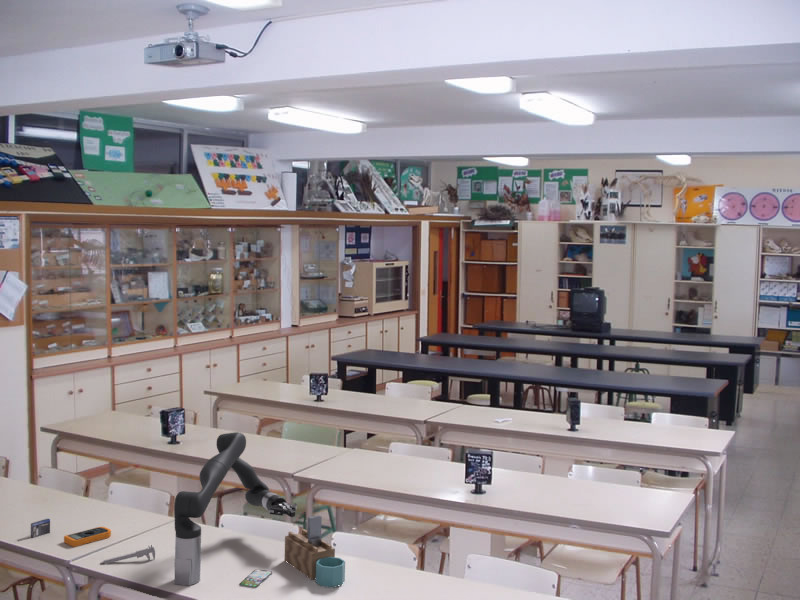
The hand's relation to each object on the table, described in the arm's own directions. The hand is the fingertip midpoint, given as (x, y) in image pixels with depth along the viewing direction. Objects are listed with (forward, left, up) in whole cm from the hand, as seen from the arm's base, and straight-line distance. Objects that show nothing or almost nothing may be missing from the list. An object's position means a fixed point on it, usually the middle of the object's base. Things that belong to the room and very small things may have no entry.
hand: (293, 514), depth 325 cm
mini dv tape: (-3, +110, -17) cm, 112 cm away
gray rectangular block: (-13, -13, -7) cm, 19 cm away
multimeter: (-3, +88, -18) cm, 90 cm away
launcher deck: (-10, -10, -17) cm, 22 cm away
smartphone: (-26, +6, -18) cm, 32 cm away
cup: (-21, -21, -17) cm, 35 cm away
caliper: (-22, +60, -18) cm, 66 cm away
